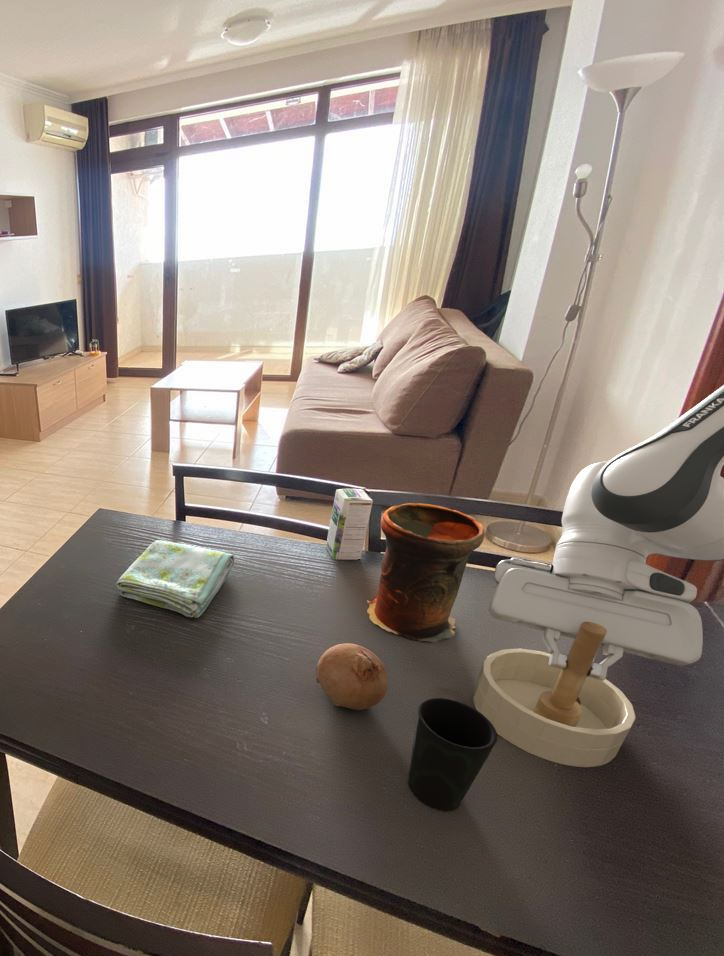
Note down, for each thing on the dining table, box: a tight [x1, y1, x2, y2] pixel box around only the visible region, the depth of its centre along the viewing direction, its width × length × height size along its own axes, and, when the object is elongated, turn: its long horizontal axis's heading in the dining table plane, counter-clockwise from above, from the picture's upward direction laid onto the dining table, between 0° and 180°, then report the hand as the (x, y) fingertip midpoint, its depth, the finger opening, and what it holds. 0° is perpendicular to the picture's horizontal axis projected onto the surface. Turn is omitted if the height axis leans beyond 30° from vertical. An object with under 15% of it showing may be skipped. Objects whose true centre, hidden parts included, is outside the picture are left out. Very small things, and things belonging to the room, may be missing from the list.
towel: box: [115, 539, 235, 619], centre depth 111 cm, size 18×21×5 cm
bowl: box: [472, 648, 637, 768], centre depth 75 cm, size 16×16×6 cm
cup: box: [407, 697, 498, 812], centre depth 65 cm, size 8×8×12 cm
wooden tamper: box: [534, 622, 607, 727], centre depth 71 cm, size 4×4×16 cm
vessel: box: [366, 502, 486, 643], centre depth 93 cm, size 14×14×20 cm
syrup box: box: [325, 488, 374, 561], centre depth 115 cm, size 6×6×14 cm
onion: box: [315, 642, 389, 711], centre depth 80 cm, size 10×9×10 cm
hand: (576, 672), depth 70 cm, fingers closed on wooden tamper, 2 cm apart
